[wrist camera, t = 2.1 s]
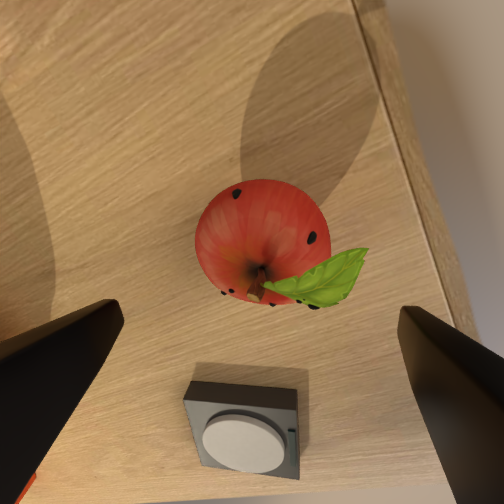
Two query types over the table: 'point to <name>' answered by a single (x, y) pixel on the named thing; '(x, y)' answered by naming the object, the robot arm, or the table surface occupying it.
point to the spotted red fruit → (273, 247)
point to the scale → (245, 428)
